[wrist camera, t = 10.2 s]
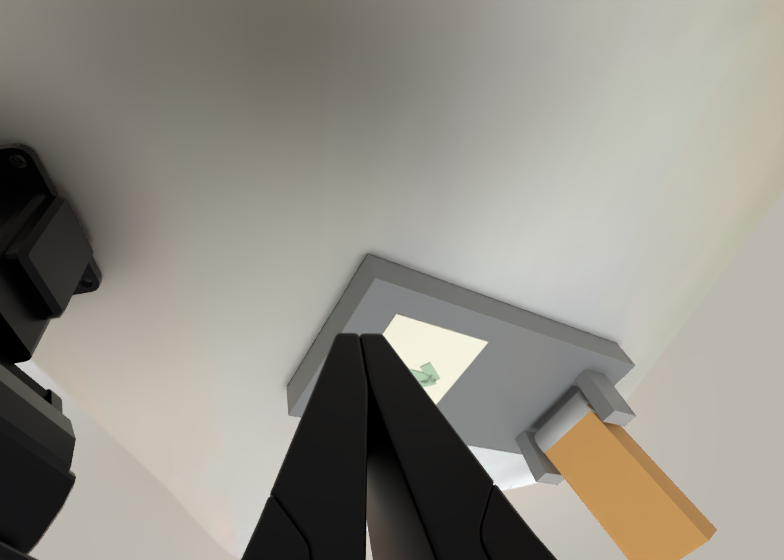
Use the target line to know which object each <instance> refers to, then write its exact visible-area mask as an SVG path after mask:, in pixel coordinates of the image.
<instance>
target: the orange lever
mask: <svg viewBox="0 0 784 560" xmlns="http://www.w3.org/2000/svg"><path fill="white" fill-rule="evenodd" d="M534 438H535V441H536V443H537V445H538V447H539V448H540V449H541V450H542V451H543V452H544V453H545V454H546V456H547V457H548V458H549V459H550V461H551V462H552V463H553V464H554V466H555V467H556V468H557V469H558V471H559V472H560V473H561V475H562V476H563V477H564V478H565V480H566V481H567V482H568V483H569V485H570V486H571V487H572V488H573V490H574V491H575V492H576V494H577V495H578V496H579V497H580V499H581V500H582V501H583V502H584V504H585V505H586V506H587V507H588V509H589V510H590V511H591V513H592V514H593V515H594V516H595V518H596V519H597V520H598V522H599V523H600V524H601V525H602V527H604V529H605V530H606V532H607V533H608V534H609V535H610V537H611V538H612V539H613V541H614V542H615V543H616V544H617V546H618V547H619V548H620V549H621V550H622V552H623V553H624V555H625V556H626V557H627V558H628V560H679V559H681V558H683V557H684V556H686V555H687V554H689V553H690V552H692V551H693V550H695V549H696V548H698V547H699V546H701V545H703V544H704V543H705V542H707V541H709V539H710V538H711V537H712V536H713V534H714V533H715V532H716V530H717V529H716V528H715V527H714V526H713V525H712V524H711V523H710V522H709V521H708V520H707V518H706V517H705V516H704V515H703V514H702V513H701V512H700V511H699V510H698V509H697V508H696V507H695V506H694V505H693V503H692V502H691V501H690V500H689V499H688V498H687V497H686V496H685V495H684V494H683V493H682V491H681V490H680V489H679V488H678V487H677V486H676V485H675V484H674V483H673V482H672V481H671V480H670V479H669V477H668V476H667V475H666V474H665V473H664V472H663V471H662V470H661V469H660V468H659V467H658V466H657V465H656V464H655V462H654V461H653V460H652V459H651V458H650V457H649V456H648V455H647V454H646V453H645V452H644V451H643V450H642V448H641V447H640V446H639V445H638V444H637V443H636V442H635V441H634V440H633V439H632V438H631V437H630V436H629V434H628V433H627V432H626V431H625V430H624V429H623V428H622V427H621V426H620V425H616V424H612V423H608V422H603V421H602V419H601V418H600V416H599V415H598V413H597V412H596V410H595V409H594V408H593V406H592V405H591V403H590V402H589V400H588V399H587V397H586V396H585V394H584V393H583V391H582V390H579V391H578V392H577V393H576V394H575V395H574V396H573V397H572V398H571V399H570V400H569V401H568V402H567V403H566V404H565V405H564V406H563V407H562V408H561V409H560V410H559V411H558V412H557V413H556V414H555V415H554V416H553V417H552V418H551V419H550V420H549V421H548V422H547V423H546V424H545V425H543V426H542V427H541V428H540V429H539V430H538V431H537V432H536V433H535V435H534Z"/></svg>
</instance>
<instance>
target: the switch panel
mask: <svg viewBox="0 0 784 560" xmlns="http://www.w3.org/2000/svg"><path fill="white" fill-rule="evenodd" d="M337 333H357V334H358V335H359V336H360V334H362V333H380V334H382V335H383V336H384V337H385V338H386V339H387V341H388V342H389V343H390V345H391V346H392V347H393V349H394V350H395V351H396V353H397V354H398V355H399V357H400V358H401V359H402V360H403V362H404V363H405V364H406V366H407V367H408V368H409V370H410V371H411V372H412V374H413V375H414V376H415V378H416V379H417V380H418V382H419V383H420V384H421V386H422V387H423V388H424V390H425V391H426V392H427V394H428V395H429V396H430V398H431V399H432V400H433V402H434V403H435V404H436V406H437V407H438V408H439V409H440V411H441V412H442V413H443V415H444V416H445V417H446V419H447V420H448V421H449V423H450V424H451V425H452V427H453V428H454V429H455V431H456V432H457V433H458V435H459V436H460V437H461V439H462V440H463V441H464V443H465V444H466V445H469V446H475V447H481V448H487V449H493V450H499V451H505V452H511V453H516V454H522V455H523V456H524V458H525V460H526V462H527V464H528V466H529V468H530V471H531V473H532V475H533V477H534V479H535V481H536V482H540V483H548V484H555V485H558V484H559V483H560V482H561V481H563V480H564V479H565V478H564V477H563V476H562V475H561V473H560V472H559V471H558V469H557V468H556V467H555V466H554V464H553V463H552V462H551V461H550V459H549V458H548V457H547V456H546V454H545V453H544V452H543V451H542V450H541V449H540V448H539V447H538V445H537V443H536V441H535V438H534V435H535V433H536V432H537V431H538V430H539V429H540V428H541V427H542V426H543V425H545V424H546V423H547V422H548V421H549V420H550V419H551V418H552V417H553V416H554V415H555V414H556V413H557V412H558V411H559V410H560V409H561V408H562V407H563V406H564V405H565V404H566V403H567V402H568V401H569V400H570V399H571V398H572V397H573V396H574V395H575V394H576V393H577V392H578V391H579V390H582V391H583V393H584V394H585V396H586V397H587V399H588V400H589V402H590V403H591V405H592V406H593V408H594V409H595V410H596V412H597V413H598V415H599V416H600V418H601V419H602V421H603V422H608V423H612V424H616V425H620V426H625V425H627V423H629V422H630V421H631V420H632V419H633V418H635V417H636V415H635V414H634V412H633V411H632V410H631V408H630V407H629V406H628V404H627V403H626V402H625V400H624V399H623V398H622V396H621V395H620V394H619V392H618V391H617V390H616V389H615V387H614V385H615V384H616V383H617V382H618V381H620V380H621V379H622V378H623V377H624V376H625V375H626V374H627V373H628V372H629V371H630V370H631V369H632V368H633V367H634V366H635V364H634V363H633V362H632V361H631V360H630V358H629V357H628V356H627V355H626V354H625V352H624V351H623V350H622V349H621V348H620V347H619V345H618V344H616V343H613V342H611V341H608V340H605V339H602V338H600V337H597V336H594V335H591V334H589V333H586V332H583V331H580V330H577V329H575V328H572V327H569V326H566V325H564V324H561V323H558V322H555V321H552V320H550V319H547V318H544V317H541V316H539V315H536V314H533V313H530V312H528V311H525V310H522V309H519V308H516V307H514V306H511V305H508V304H505V303H503V302H500V301H497V300H494V299H491V298H489V297H486V296H483V295H480V294H478V293H475V292H472V291H469V290H466V289H464V288H461V287H458V286H455V285H453V284H450V283H447V282H444V281H442V280H439V279H436V278H433V277H430V276H428V275H425V274H422V273H419V272H417V271H414V270H411V269H408V268H405V267H403V266H400V265H397V264H394V263H392V262H389V261H386V260H383V259H381V258H378V257H375V256H372V255H369V254H367V256H366V258H365V259H364V261H363V263H362V264H361V266H360V268H359V269H358V271H357V272H356V274H355V276H354V277H353V279H352V281H351V282H350V284H349V286H348V287H347V289H346V291H345V292H344V294H343V296H342V297H341V299H340V301H339V302H338V304H337V305H336V307H335V309H334V310H333V312H332V314H331V315H330V317H329V319H328V320H327V322H326V324H325V325H324V327H323V329H322V330H321V332H320V333H319V335H318V337H317V338H316V340H315V342H314V343H313V345H312V347H311V348H310V350H309V352H308V353H307V355H306V357H305V358H304V360H303V362H302V363H301V365H300V366H299V368H298V370H297V371H296V373H295V375H294V376H293V378H292V380H291V381H290V383H289V385H288V386H287V399H288V415H289V416H295V417H302V415H303V413H304V410H305V408H306V405H307V403H308V400H309V398H310V396H311V393H312V391H313V388H314V386H315V383H316V381H317V378H318V376H319V374H320V371H321V369H322V366H323V364H324V361H325V359H326V357H327V354H328V352H329V349H330V347H331V344H332V342H333V339H334V337H335V335H336V334H337Z"/></svg>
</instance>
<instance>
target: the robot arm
mask: <svg viewBox="0 0 784 560" xmlns="http://www.w3.org/2000/svg"><path fill="white" fill-rule="evenodd" d="M14 154H15V155H20V156H22V157H23V158H24V159H25V160H26V163H27V164H24V163H20V162H18V161H17V160H16V159H15V158H14ZM92 254H93V250H92V248H91V246H90V244H89V242H88V240H87V238H86V236H85V234H84V232H83V230H82V229H81V227H80V225H79V223H78V221H77V219H76V217H75V215H74V213H73V211H72V209H71V207H70V206H69V204H68V202H67V200H65V199H64V198H62V197H61V196H59V195H58V193H57V191H56V189H55V187H54V186H53V184H52V182H51V180H50V178H49V176H48V174H47V172H46V171H45V169H44V167H43V165H42V163H41V161H40V159H39V157H38V155H37V154H36V153H35V151H34V150H32V149H31V148H30V147H28V146H26V145H23V144H8V145H0V560H38V559H36V558H34V557H32V556H30V555H28V554H29V553H30V552H31V551H32V550H33V548H34V547H35V546H36V545H37V544H38V543H39V541H40V540H41V539H42V537H43V536H44V534H45V533H46V531H47V530H48V528H49V527H50V526H51V524H52V523H53V521H54V520H55V519H56V517H57V516H58V514H59V513H60V511H61V510H62V508H63V506H64V504H65V502H66V500H67V498H68V496H69V494H70V492H71V490H72V488H73V486H74V483H75V479H76V476H75V474H74V473H73V472H71V471H70V467H71V463H72V457H73V451H74V446H75V440H76V439H75V435H74V432H73V428H72V424H71V421H70V420H69V419H68V418H67V417H66V416H64V415H63V414H62V400H61V398H60V397H59V396H58V395H57V394H55V393H54V392H53V391H51V390H50V389H48V390H45V389H44V388H43V387H42V386H40V385H39V384H38V383H37V382H35V381H34V380H33V379H32V378H30V377H29V376H28V375H27V374H26V373H24V372H23V371H22V370H21V369H20V368H18V367H17V366H16V365H15V364H14V363H19V362H25V361H28V360H30V358H31V357H32V355H33V353H34V351H35V349H36V347H37V345H38V343H39V341H40V339H41V337H42V335H43V333H44V332H45V330H46V328H47V326H48V324H49V322H50V320H51V319H56V318H60V317H61V316H62V314H63V313H64V311H65V309H66V307H67V305H68V303H69V301H70V299H71V297H72V295H75V294H81V293H87V292H92V291H95V290H97V289H98V288H99V286H100V283H101V281H102V277H101V274H100V272H99V270H98V268H97V267H96V265H95V263H94V261H93V259H92V257H91V256H92ZM83 278H88V279H91V280H92V281H93V282H87V281H85V280H84V279H83ZM493 483H494V482H493V480H492V478H491V477H490V476H489V474H488V473H487V472H486V470H485V469H484V468H483V466H482V465H481V464H480V462H479V461H478V460H477V458H476V457H475V456H474V455H473V453H472V452H471V451H470V449H469V448H468V447H467V445H466V444H465V443H464V441H463V440H462V439H461V437H460V436H459V435H458V433H457V432H456V431H455V429H454V428H453V427H452V425H451V424H450V423H449V421H448V420H447V419H446V417H445V416H444V415H443V413H442V412H441V411H440V409H439V408H438V407H437V406H436V404H435V403H434V402H433V400H432V399H431V398H430V396H429V395H428V394H427V392H426V391H425V390H424V388H423V387H422V386H421V384H420V383H419V382H418V380H417V379H416V378H415V376H414V375H413V374H412V372H411V371H410V370H409V368H408V367H407V366H406V364H405V363H404V362H403V360H402V359H401V358H400V357H399V355H398V354H397V353H396V351H395V350H394V349H393V347H392V346H391V345H390V343H389V342H388V341H387V339H386V338H385V337H384V336H383V335H382V334H380V333H362V334H360V336H359V335H358V334H357V333H337V334H336V335H335V337H334V339H333V342H332V344H331V347H330V349H329V352H328V354H327V357H326V359H325V361H324V364H323V366H322V369H321V371H320V374H319V376H318V378H317V381H316V383H315V386H314V388H313V391H312V393H311V396H310V398H309V400H308V403H307V405H306V408H305V410H304V413H303V415H302V417H301V420H300V422H299V425H298V427H297V430H296V432H295V434H294V437H293V439H292V442H291V444H290V447H289V449H288V451H287V454H286V456H285V459H284V461H283V464H282V466H281V469H280V471H279V473H278V476H277V478H276V481H275V483H274V486H273V488H272V490H271V493H270V497H269V498H268V499H267V502H266V504H265V507H264V509H263V512H262V514H261V516H260V519H259V521H258V523H257V526H256V528H255V530H254V532H253V535H252V537H251V539H250V541H249V543H248V546H247V548H246V550H245V552H244V555H243V557H242V559H241V560H366V518H367V525H368V531H369V537H370V544H371V550H372V556H373V560H557V559H556V558H555V557H554V555H553V554H552V553H551V552H550V551H549V550H548V549H547V547H546V546H545V545H544V544H543V543H542V542H541V541H540V539H539V538H538V537H537V536H536V535H535V534H534V532H533V531H532V530H531V529H530V528H529V526H528V525H527V524H526V522H525V521H524V520H523V518H522V517H521V516H520V515H519V513H517V511H516V510H515V508H514V507H513V506H512V505H511V503H510V502H509V501H508V499H507V498H506V497H505V495H504V494H503V493H502V491H501V490H500V489H499V487H498V486H497V485H493Z"/></svg>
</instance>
